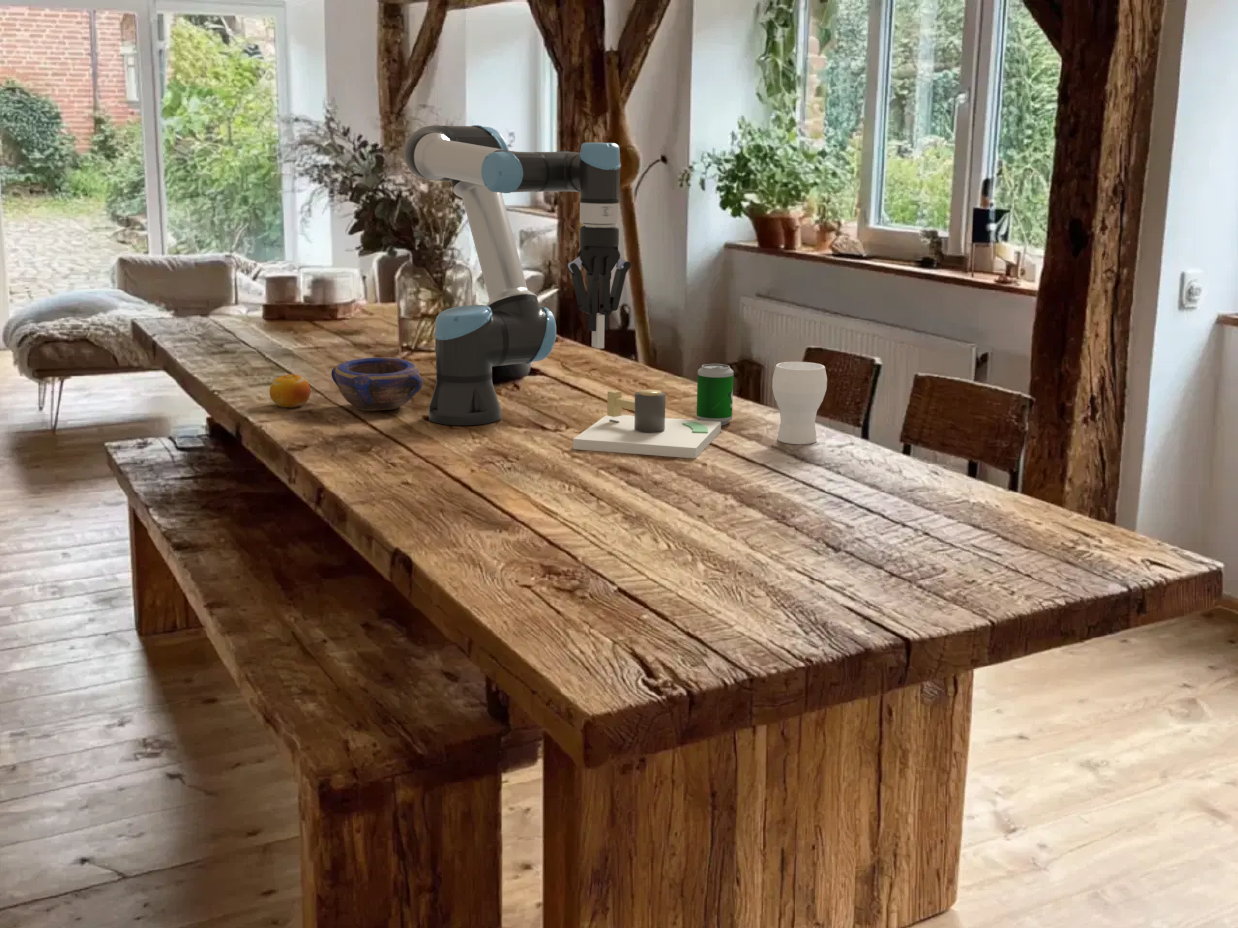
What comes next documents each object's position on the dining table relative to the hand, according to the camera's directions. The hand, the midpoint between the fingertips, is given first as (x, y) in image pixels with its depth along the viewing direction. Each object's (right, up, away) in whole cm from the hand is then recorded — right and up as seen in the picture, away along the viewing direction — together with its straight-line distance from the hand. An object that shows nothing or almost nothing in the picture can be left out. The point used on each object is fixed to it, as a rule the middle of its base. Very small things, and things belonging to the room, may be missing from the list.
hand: (597, 347), depth 252 cm
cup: (+40, -18, +3) cm, 44 cm away
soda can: (+24, -14, +19) cm, 34 cm away
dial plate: (+10, -18, +2) cm, 21 cm away
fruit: (-68, -10, +30) cm, 75 cm away
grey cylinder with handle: (+7, -15, +4) cm, 17 cm away
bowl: (-49, -11, +29) cm, 58 cm away
